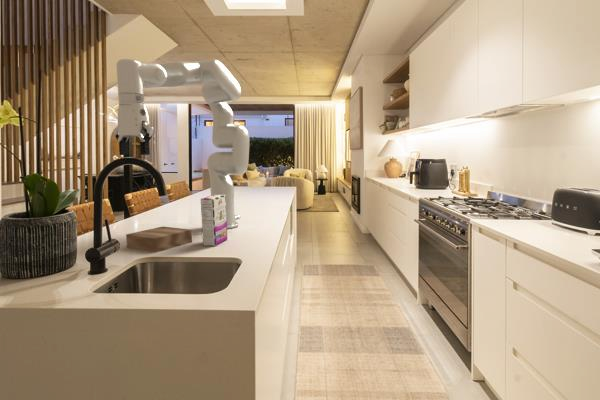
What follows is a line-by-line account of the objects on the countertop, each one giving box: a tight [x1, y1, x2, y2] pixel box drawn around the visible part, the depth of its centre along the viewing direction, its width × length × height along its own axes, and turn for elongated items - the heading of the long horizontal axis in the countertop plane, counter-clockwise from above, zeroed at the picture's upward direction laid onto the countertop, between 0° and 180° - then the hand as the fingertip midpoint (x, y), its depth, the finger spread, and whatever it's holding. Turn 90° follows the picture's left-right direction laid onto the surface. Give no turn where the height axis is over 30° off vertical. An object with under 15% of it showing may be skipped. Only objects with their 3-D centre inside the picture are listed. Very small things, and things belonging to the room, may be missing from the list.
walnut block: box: [125, 226, 193, 253], centre depth 142 cm, size 16×14×5 cm
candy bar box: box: [200, 195, 228, 247], centre depth 144 cm, size 11×5×16 cm, turn 168°
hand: (134, 154), depth 133 cm, fingers open, 9 cm apart
